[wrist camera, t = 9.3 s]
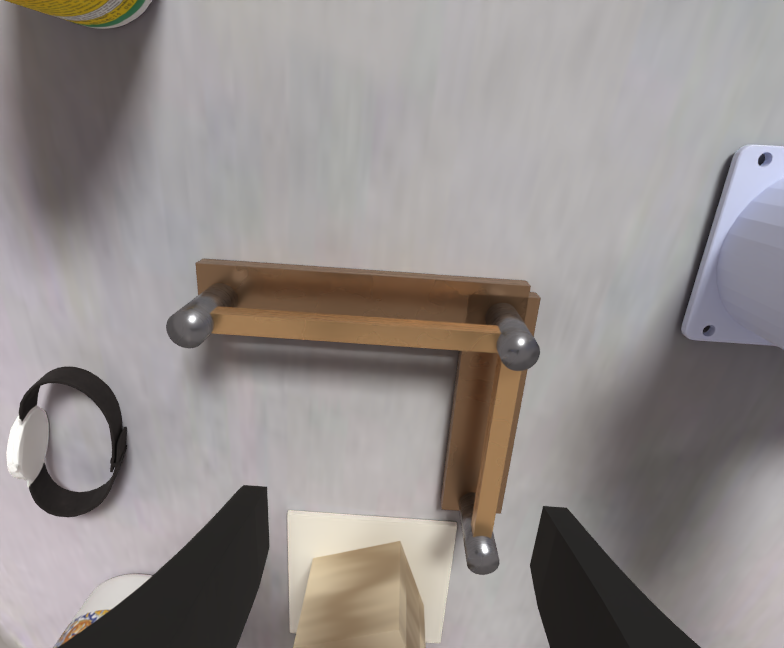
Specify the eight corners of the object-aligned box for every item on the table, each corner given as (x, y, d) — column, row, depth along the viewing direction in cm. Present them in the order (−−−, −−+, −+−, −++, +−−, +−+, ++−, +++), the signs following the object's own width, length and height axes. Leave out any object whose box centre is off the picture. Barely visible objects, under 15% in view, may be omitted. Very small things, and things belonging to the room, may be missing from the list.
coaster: (456, 522, 26) (457, 526, 25) (439, 638, 29) (440, 643, 29) (288, 510, 26) (287, 514, 25) (290, 627, 29) (289, 632, 29)
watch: (33, 351, 23) (-31, 389, 20) (133, 367, 23) (86, 406, 20) (49, 481, 26) (-4, 533, 22) (138, 493, 26) (98, 547, 22)
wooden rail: (537, 281, 21) (570, 317, 17) (497, 505, 25) (515, 576, 21) (203, 258, 21) (153, 288, 17) (221, 486, 25) (185, 553, 21)
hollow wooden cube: (400, 540, 26) (399, 629, 21) (424, 605, 28) (427, 700, 23) (312, 558, 26) (293, 648, 22) (341, 620, 28) (328, 716, 24)
